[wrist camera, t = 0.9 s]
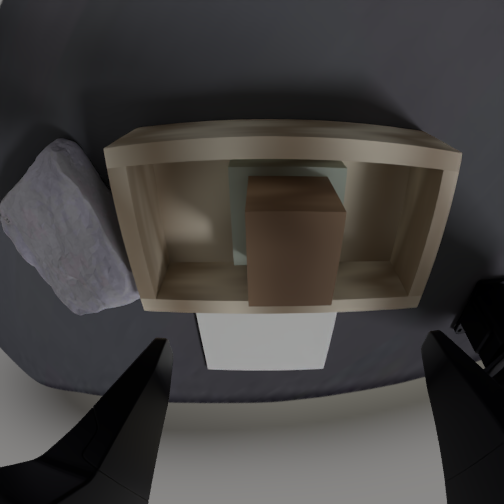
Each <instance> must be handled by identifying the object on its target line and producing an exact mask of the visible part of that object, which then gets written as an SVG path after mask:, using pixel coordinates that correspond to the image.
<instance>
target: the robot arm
mask: <svg viewBox="0 0 504 504" xmlns="http://www.w3.org/2000/svg"><path fill="white" fill-rule="evenodd" d="M454 331H455V333H456V334H460V333H466V335H467V337H468V339H469V341H470V343H471V345H472V347H473V349H474V351H475V353H478V354H479V356H480V358H481V360H482V362H483V364H484V366H485V369H482V368H481V367H480V366H479V365H478V364H477V363H476V362H475V361H474V360H473V359H472V358H471V357H469V356H468V355H467V354H466V353H465V352H464V351H463V350H462V349H461V348H460V347H458V346H457V345H456V344H455V343H454V342H453V341H452V340H451V339H449V338H448V337H447V336H446V335H445V334H444V333H443V332H441V331H440V330H435V331H430V332H429V333H428V335H427V337H426V339H425V341H424V343H423V345H422V348H421V353H422V359H423V365H424V371H425V378H426V384H427V389H428V394H429V398H430V403H431V407H432V411H433V416H434V421H435V425H436V430H437V435H438V441H439V446H440V452H441V458H442V464H443V471H444V478H445V486H446V496H447V504H504V279H495V280H482V281H479V282H478V283H477V285H476V287H475V289H474V291H473V293H472V295H471V297H470V299H469V301H468V303H467V305H466V307H465V309H464V311H463V313H462V315H461V317H460V319H459V321H458V323H457V325H456V327H455V329H454ZM172 366H173V353H172V350H171V347H170V344H169V341H168V339H166V338H155V339H154V340H153V341H152V342H151V343H150V344H149V345H148V347H147V348H146V349H145V350H144V351H143V352H142V353H141V354H140V355H139V356H138V357H137V359H136V360H135V361H134V362H133V363H132V364H131V365H130V366H129V367H128V369H127V370H126V371H125V372H124V373H123V374H122V375H121V376H120V377H119V378H118V380H117V381H116V382H115V383H114V384H113V385H112V386H111V387H110V388H109V390H108V391H107V392H106V393H105V394H104V395H103V396H102V397H101V398H100V400H99V401H98V402H97V403H96V404H95V405H94V406H93V408H91V410H90V411H89V412H88V413H87V414H86V415H85V416H84V417H83V418H82V419H81V421H79V423H78V424H77V425H76V426H75V427H74V428H72V429H71V430H70V431H69V432H68V433H67V434H66V435H65V436H64V437H63V438H62V439H60V440H59V441H58V442H57V443H56V444H55V445H54V446H52V447H51V448H50V449H49V450H48V451H47V452H45V453H44V454H43V455H41V456H40V457H38V458H36V459H34V460H30V461H27V462H23V463H18V464H14V465H9V466H4V467H0V504H148V500H149V495H150V489H151V484H152V479H153V474H154V468H155V463H156V458H157V453H158V448H159V443H160V438H161V434H162V429H163V424H164V420H165V415H166V410H167V406H168V401H169V394H170V384H171V375H172Z"/></svg>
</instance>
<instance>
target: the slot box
mask: <svg viewBox="0 0 504 504" xmlns="http://www.w3.org/2000/svg"><path fill="white" fill-rule="evenodd" d="M104 155H105V160H106V166H107V171H108V176H109V181H110V186H111V191H112V195H113V200H114V204H115V208H116V213H117V217H118V221H119V225H120V229H121V233H122V237H123V241H124V244H125V248H126V252H127V255H128V259H129V262H130V266H131V269H132V273H133V276H134V279H135V283H136V286H137V289H138V292H139V295H140V298H141V302H142V305H143V308H144V311H160V312H185V313H228V314H285V313H327V312H352V311H372V310H389V309H403V308H416V307H417V306H418V304H419V301H420V299H421V296H422V294H423V291H424V288H425V286H426V283H427V280H428V278H429V275H430V272H431V269H432V267H433V264H434V261H435V258H436V255H437V252H438V249H439V246H440V242H441V239H442V236H443V232H444V229H445V226H446V222H447V219H448V215H449V211H450V207H451V203H452V200H453V195H454V191H455V187H456V183H457V178H458V173H459V169H460V163H461V158H462V153H461V152H459V151H458V150H456V149H454V148H453V147H451V146H449V145H447V144H446V143H444V142H442V141H440V140H438V139H437V138H435V137H433V136H431V135H429V134H427V133H425V132H423V131H419V130H412V129H405V128H398V127H390V126H382V125H373V124H363V123H352V122H339V121H323V120H298V119H240V120H215V121H199V122H186V123H174V124H164V125H155V126H147V127H139V128H136V129H134V130H133V131H131V132H129V133H128V134H126V135H124V136H123V137H121V138H119V139H118V140H116V141H115V142H113V143H111V144H110V145H108V146H107V147H105V148H104ZM248 176H319V177H328V178H329V180H330V182H331V184H332V186H333V187H334V189H335V191H336V193H337V195H338V197H339V198H340V200H341V202H342V204H343V206H344V208H345V210H346V212H347V214H346V221H345V228H344V235H343V241H342V248H341V254H340V260H339V266H338V272H337V278H336V283H335V289H334V294H333V299H332V305H326V306H270V307H249V305H248V280H247V254H246V227H245V206H246V196H247V186H248Z"/></svg>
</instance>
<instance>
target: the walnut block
mask: <svg viewBox="0 0 504 504" xmlns="http://www.w3.org/2000/svg"><path fill="white" fill-rule="evenodd" d="M346 214H347V212H346V210H345V208H344V206H343V204H342V202H341V200H340V198H339V197H338V195H337V193H336V191H335V189H334V187H333V186H332V184H331V182H330V180H329V178H328V177H319V176H248V186H247V196H246V206H245V227H246V254H247V280H248V305H249V307H270V306H326V305H332V299H333V294H334V289H335V283H336V278H337V272H338V266H339V260H340V254H341V248H342V241H343V235H344V228H345V221H346Z"/></svg>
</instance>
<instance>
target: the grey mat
mask: <svg viewBox="0 0 504 504" xmlns="http://www.w3.org/2000/svg"><path fill="white" fill-rule="evenodd" d="M336 314H337V312H327V313H285V314H228V313H196V315H197V320H198V325H199V330H200V335H201V339H202V344H203V349H204V353H205V358H206V362H207V366H208V369H216V370H305V369H323V368H324V364H325V360H326V356H327V352H328V348H329V344H330V340H331V336H332V332H333V328H334V323H335V319H336Z"/></svg>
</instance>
